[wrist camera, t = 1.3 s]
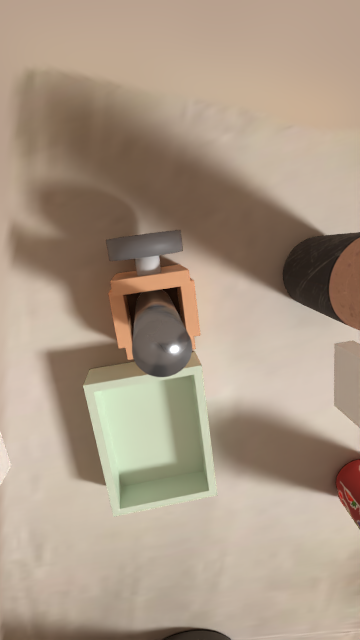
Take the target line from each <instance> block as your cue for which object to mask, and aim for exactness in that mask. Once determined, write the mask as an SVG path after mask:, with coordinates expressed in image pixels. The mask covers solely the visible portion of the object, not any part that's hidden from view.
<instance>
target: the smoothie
mask: <svg viewBox="0 0 360 640" xmlns="http://www.w3.org/2000/svg"><path fill="white" fill-rule="evenodd" d="M336 487H337V489H338V497H339V499H340V501H341V502H342V504H343V505H344V507H345V508H346V510H347V511H348V513H349V514H350V516H351V517H352V519H353V520H354V522H355V523H356V525H357V526H358V528H359V529H360V459H358V460H355V461H352V462H350V463H348V464H346V465H345V466H344V467H343V468H342V469H341V471H340V472H339V474H338V475H337V479H336Z"/></svg>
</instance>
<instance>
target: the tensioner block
mask: <svg viewBox="0 0 360 640" xmlns="http://www.w3.org/2000/svg"><path fill="white" fill-rule="evenodd" d="M106 244H107V249H108V255H109V260H110V261H118V260H128V259H135V264H136V270H137V271H131V272H124V273H117V274H116V275H115V276H114V277H113V278H112V280H111V281H110V283H111V290H110V291H109V293H108V296H109V301H110V306H111V311H112V316H113V321H114V327H115V332H116V337H117V342H118V347H119V349H120V348H126V353H127V358H128V360H131V359H134V358H133V355H132V342H133V328H132V323H131V317H130V311H129V306H128V300H127V295H126V294H133V293H139V292H146V291H153V290H159V289H166V288H173V287H177V293H178V300H179V308H180V315H181V320H182V322H183V324H184V326H185V328H186V330H187V332H188V334H189V336H190V338H191V342H192V349H196V348H195V341H194V336H200V327H199V319H198V310H197V302H196V294H195V285H194V280H192V279H191V278H190V276H189V270H188V269H187V268H185V267H183V266H181V265H173V266H166V267H161V266H160V259H159V255H164V254H170V253H175V252H180V251H183V246H182V238H181V230H175V231H166V232H158V233H150V234H142V235H135V236H128V237H121V238H115V239H109V240H106Z"/></svg>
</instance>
